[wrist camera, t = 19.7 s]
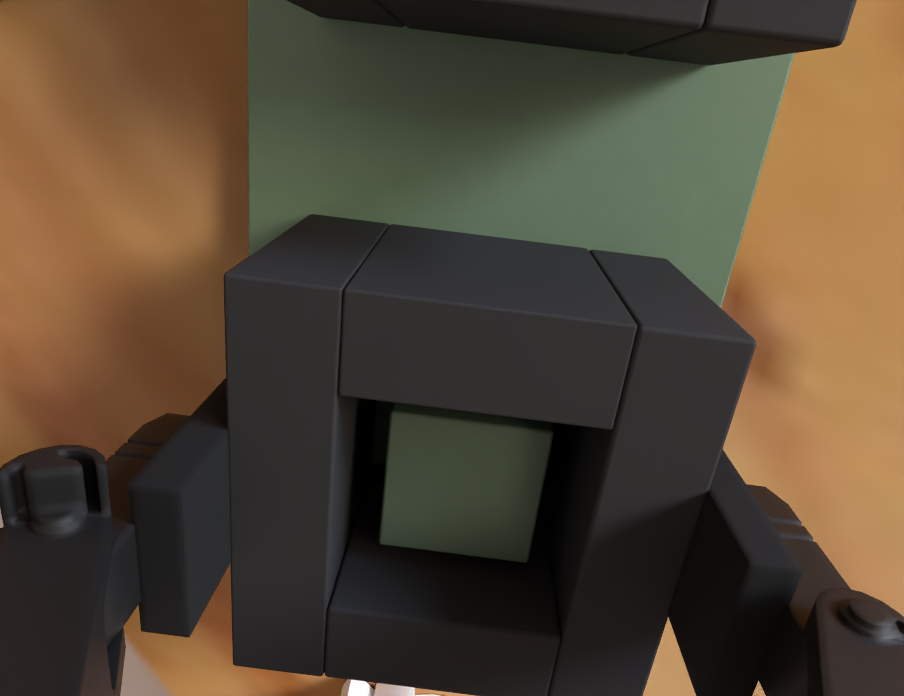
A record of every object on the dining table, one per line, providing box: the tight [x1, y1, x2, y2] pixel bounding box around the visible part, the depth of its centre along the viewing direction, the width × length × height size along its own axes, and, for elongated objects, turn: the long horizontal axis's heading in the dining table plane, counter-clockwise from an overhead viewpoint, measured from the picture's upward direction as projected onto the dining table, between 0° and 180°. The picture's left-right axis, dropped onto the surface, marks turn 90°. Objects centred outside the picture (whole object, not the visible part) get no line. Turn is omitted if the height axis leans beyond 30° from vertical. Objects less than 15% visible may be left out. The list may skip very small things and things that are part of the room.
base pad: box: [248, 0, 795, 563], centre depth 12 cm, size 26×11×5 cm, turn 173°
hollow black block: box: [224, 214, 756, 696], centre depth 13 cm, size 8×8×5 cm
